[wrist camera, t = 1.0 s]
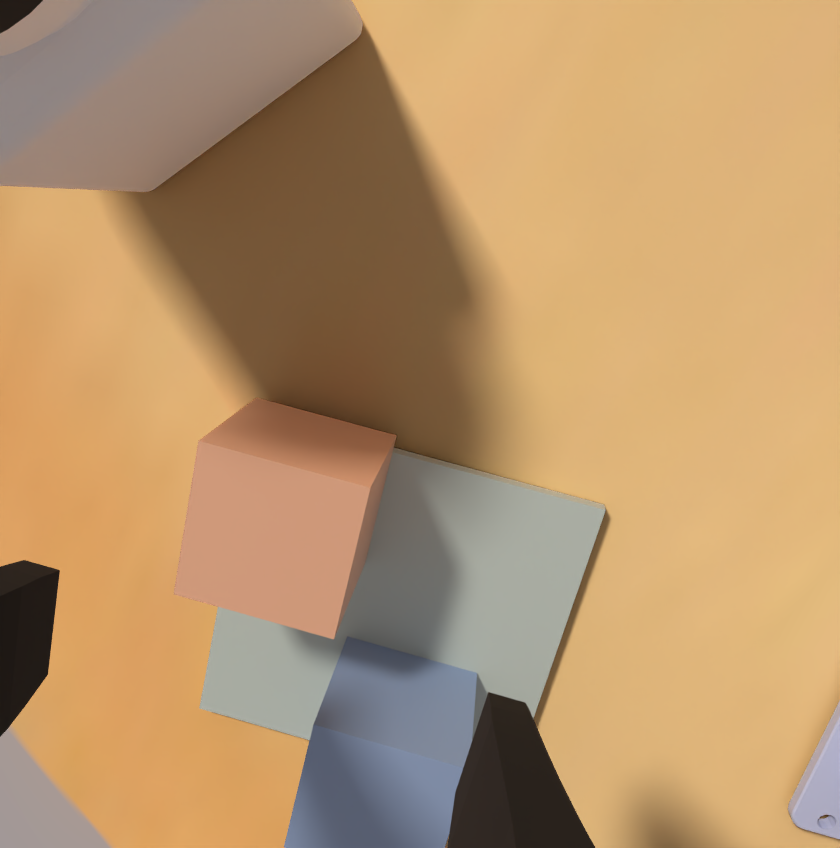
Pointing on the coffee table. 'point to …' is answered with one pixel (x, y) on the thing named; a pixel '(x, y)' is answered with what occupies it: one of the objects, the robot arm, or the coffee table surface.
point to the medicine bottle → (146, 81)
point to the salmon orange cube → (282, 515)
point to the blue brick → (384, 752)
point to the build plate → (426, 596)
